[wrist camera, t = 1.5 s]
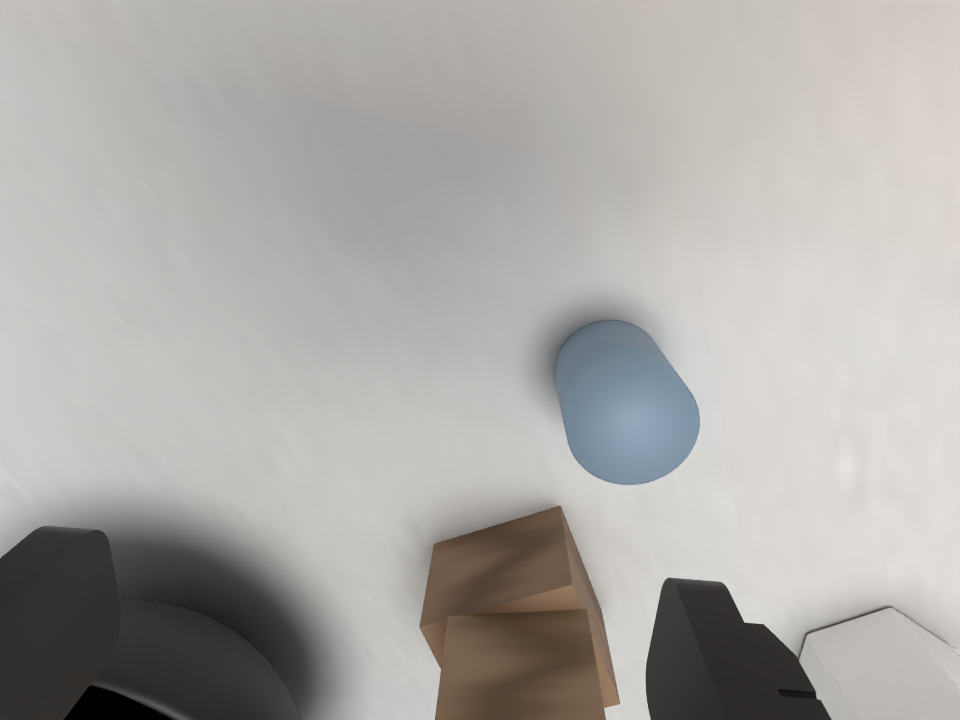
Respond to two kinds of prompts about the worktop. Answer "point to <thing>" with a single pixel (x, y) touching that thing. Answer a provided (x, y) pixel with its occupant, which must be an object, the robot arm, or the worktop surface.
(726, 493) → the worktop surface
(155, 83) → the worktop surface
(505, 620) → the tower mid
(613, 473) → the blue grey cylinder
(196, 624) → the coal bowl
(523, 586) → the tower base
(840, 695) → the jar
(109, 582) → the robot arm
